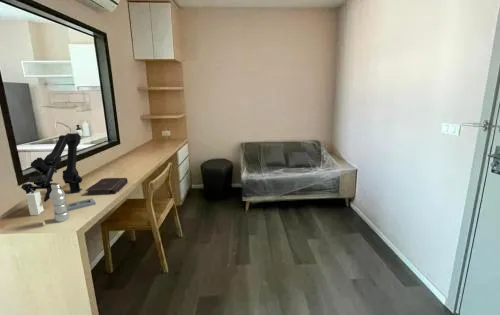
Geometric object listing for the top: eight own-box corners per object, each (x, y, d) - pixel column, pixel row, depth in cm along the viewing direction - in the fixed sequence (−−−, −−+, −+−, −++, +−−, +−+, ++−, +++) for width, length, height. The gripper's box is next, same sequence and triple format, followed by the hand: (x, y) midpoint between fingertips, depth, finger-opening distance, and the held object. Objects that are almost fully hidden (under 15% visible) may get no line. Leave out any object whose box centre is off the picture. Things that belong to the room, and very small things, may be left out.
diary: (128, 183, 199) (127, 177, 198) (115, 196, 175) (114, 189, 173) (101, 184, 197) (100, 178, 196) (84, 197, 173) (83, 190, 171)
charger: (30, 215, 148) (25, 191, 145) (36, 212, 152) (30, 189, 149) (38, 215, 148) (33, 191, 145) (44, 212, 152) (39, 188, 149)
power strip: (63, 214, 149) (62, 209, 148) (61, 209, 154) (60, 204, 154) (96, 205, 159) (95, 201, 158) (92, 202, 165) (92, 197, 164)
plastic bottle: (59, 225, 136) (51, 187, 131) (52, 222, 139) (44, 185, 134) (72, 220, 142) (65, 183, 137) (65, 217, 145) (58, 181, 140)
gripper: (19, 170, 150) (7, 196, 142) (53, 169, 150) (43, 195, 142) (33, 179, 160) (23, 204, 152) (65, 178, 160) (56, 203, 152)
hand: (36, 201), depth 149 cm, fingers open, 9 cm apart
